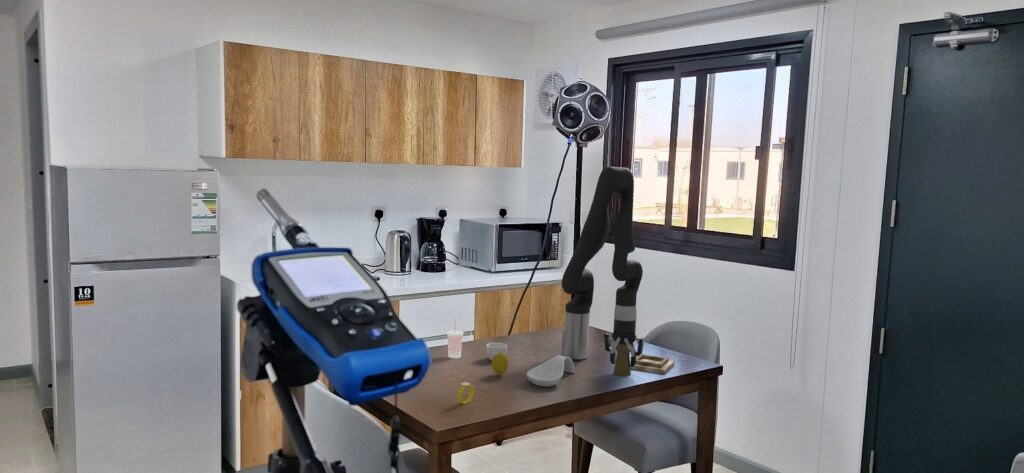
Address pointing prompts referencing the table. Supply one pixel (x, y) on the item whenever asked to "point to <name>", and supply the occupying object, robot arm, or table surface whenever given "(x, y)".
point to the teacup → (495, 349)
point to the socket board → (653, 364)
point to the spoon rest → (550, 371)
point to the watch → (463, 385)
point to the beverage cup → (454, 343)
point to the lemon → (500, 363)
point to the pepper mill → (622, 361)
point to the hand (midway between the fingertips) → (622, 364)
